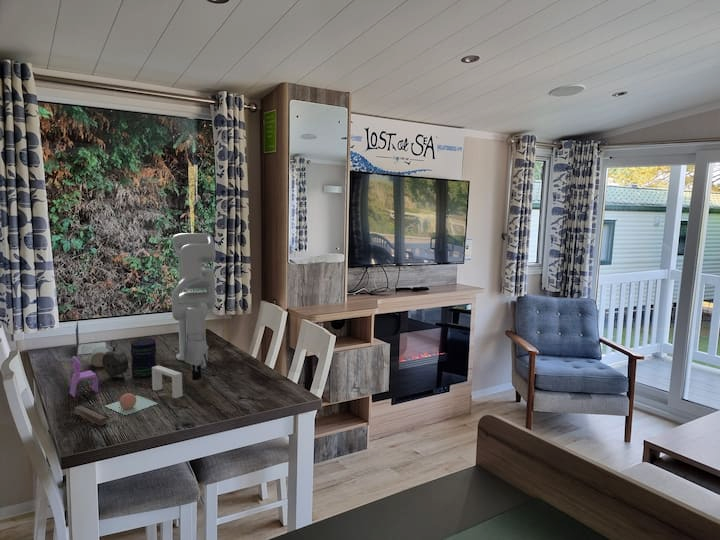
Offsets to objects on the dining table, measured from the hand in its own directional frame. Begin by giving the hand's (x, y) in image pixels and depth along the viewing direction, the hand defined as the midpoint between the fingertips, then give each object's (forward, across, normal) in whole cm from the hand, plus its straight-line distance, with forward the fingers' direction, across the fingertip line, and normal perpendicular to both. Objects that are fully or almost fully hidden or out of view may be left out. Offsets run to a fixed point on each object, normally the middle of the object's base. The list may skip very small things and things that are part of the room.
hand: (196, 379), depth 208 cm
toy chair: (+2, -25, -33) cm, 41 cm away
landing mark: (+2, 0, -29) cm, 29 cm away
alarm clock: (+2, -31, -17) cm, 35 cm away
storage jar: (+2, -24, -8) cm, 25 cm away
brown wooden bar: (+2, 0, -44) cm, 44 cm away
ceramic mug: (+2, -51, -10) cm, 52 cm away
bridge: (+2, 0, -14) cm, 14 cm away
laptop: (+2, -78, -1) cm, 78 cm away
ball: (-1, +2, -31) cm, 31 cm away
